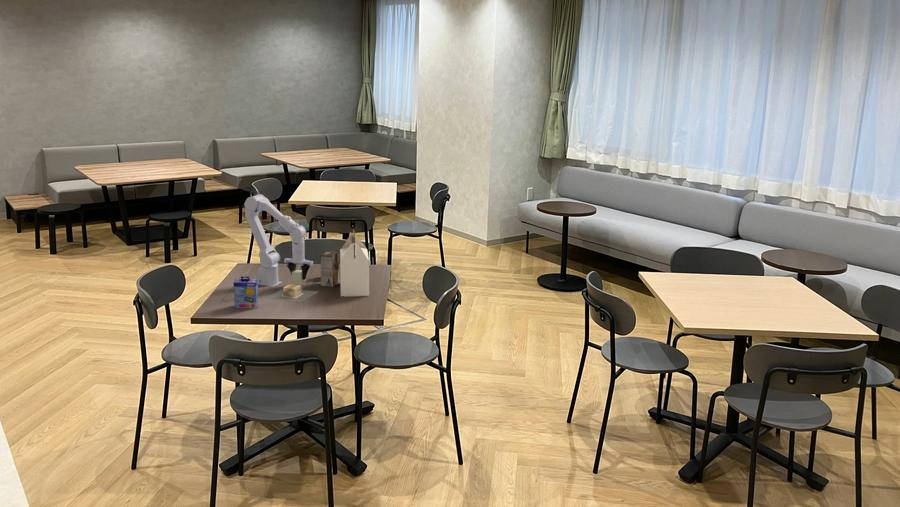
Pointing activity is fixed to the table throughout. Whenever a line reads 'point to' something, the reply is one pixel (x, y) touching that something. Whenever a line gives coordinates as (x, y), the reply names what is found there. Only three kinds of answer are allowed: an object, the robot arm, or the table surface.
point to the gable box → (354, 267)
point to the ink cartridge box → (246, 293)
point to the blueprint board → (300, 298)
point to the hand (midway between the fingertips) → (299, 278)
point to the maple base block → (292, 290)
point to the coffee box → (329, 268)
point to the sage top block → (297, 276)
